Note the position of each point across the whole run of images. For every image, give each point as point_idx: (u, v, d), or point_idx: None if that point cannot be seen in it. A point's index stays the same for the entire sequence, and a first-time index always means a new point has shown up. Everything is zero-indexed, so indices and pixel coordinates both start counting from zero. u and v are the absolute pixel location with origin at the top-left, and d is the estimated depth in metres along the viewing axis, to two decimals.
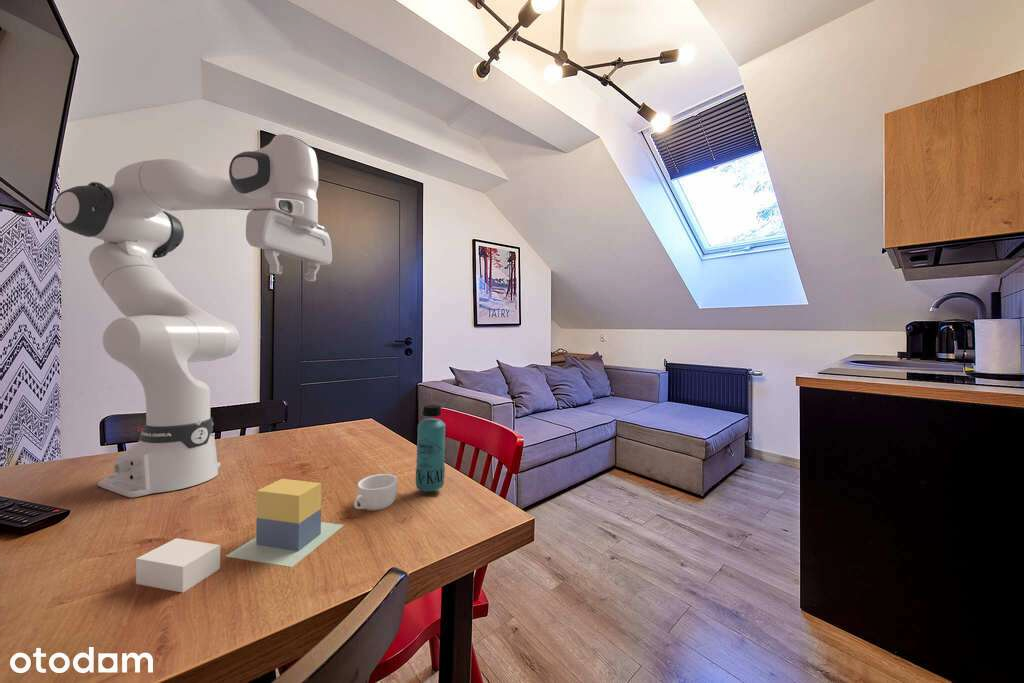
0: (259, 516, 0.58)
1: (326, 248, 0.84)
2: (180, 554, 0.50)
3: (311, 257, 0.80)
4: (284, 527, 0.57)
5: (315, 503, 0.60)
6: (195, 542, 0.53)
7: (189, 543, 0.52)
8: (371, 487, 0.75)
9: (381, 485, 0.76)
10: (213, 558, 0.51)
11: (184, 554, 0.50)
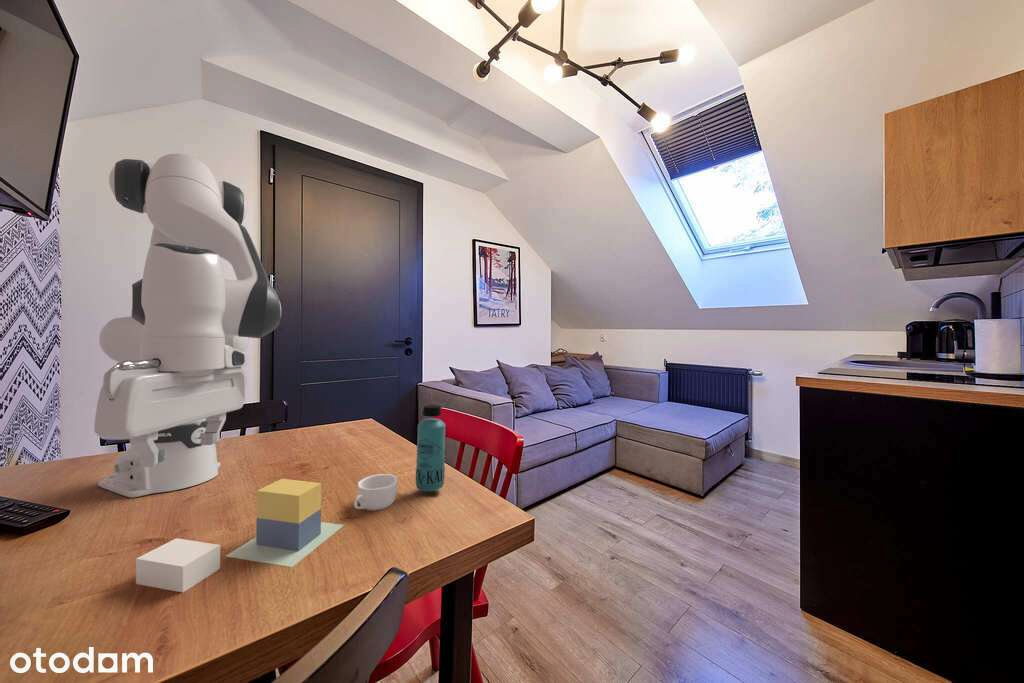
0: (259, 516, 0.58)
1: None
2: (179, 554, 0.50)
3: None
4: (284, 527, 0.57)
5: (315, 503, 0.60)
6: (195, 542, 0.53)
7: (189, 543, 0.52)
8: (371, 487, 0.75)
9: (381, 485, 0.76)
10: (213, 558, 0.51)
11: (184, 554, 0.50)
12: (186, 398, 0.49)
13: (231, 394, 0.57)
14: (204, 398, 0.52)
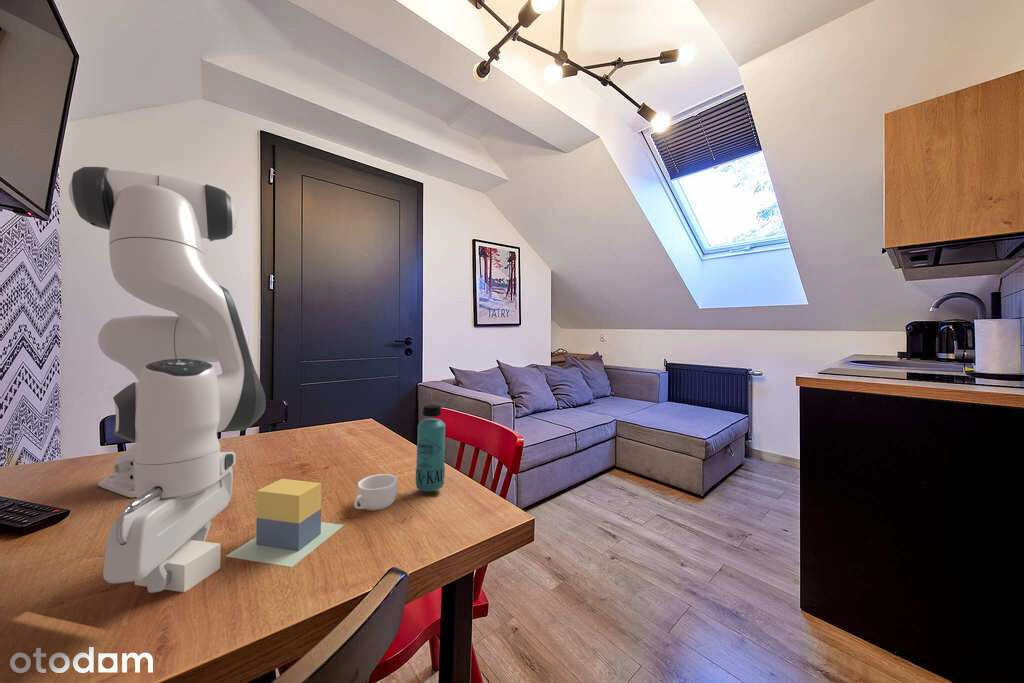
0: (259, 516, 0.58)
1: None
2: (180, 553, 0.50)
3: None
4: (284, 527, 0.57)
5: (315, 503, 0.60)
6: (194, 541, 0.53)
7: (188, 542, 0.52)
8: (371, 487, 0.75)
9: (381, 485, 0.76)
10: (213, 557, 0.51)
11: (184, 553, 0.50)
12: (186, 518, 0.49)
13: (220, 496, 0.57)
14: (199, 510, 0.52)
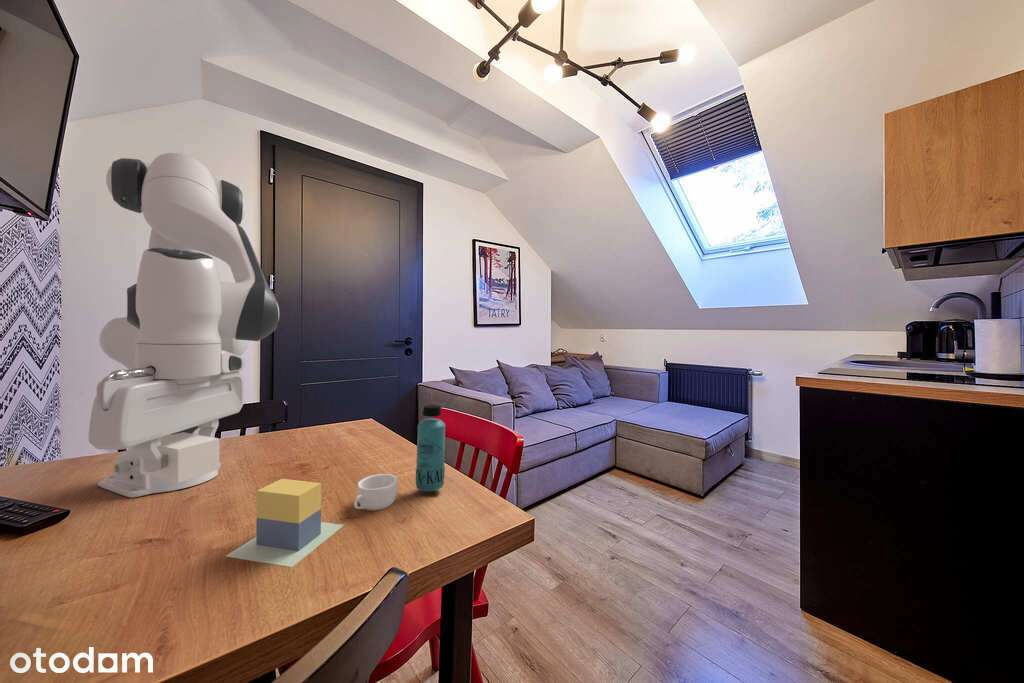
0: (259, 516, 0.58)
1: None
2: (180, 441, 0.49)
3: None
4: (284, 527, 0.57)
5: (315, 503, 0.60)
6: (198, 435, 0.52)
7: (192, 435, 0.52)
8: (371, 487, 0.75)
9: (381, 485, 0.76)
10: (212, 450, 0.50)
11: (183, 442, 0.49)
12: (182, 405, 0.48)
13: (228, 399, 0.57)
14: (201, 404, 0.51)
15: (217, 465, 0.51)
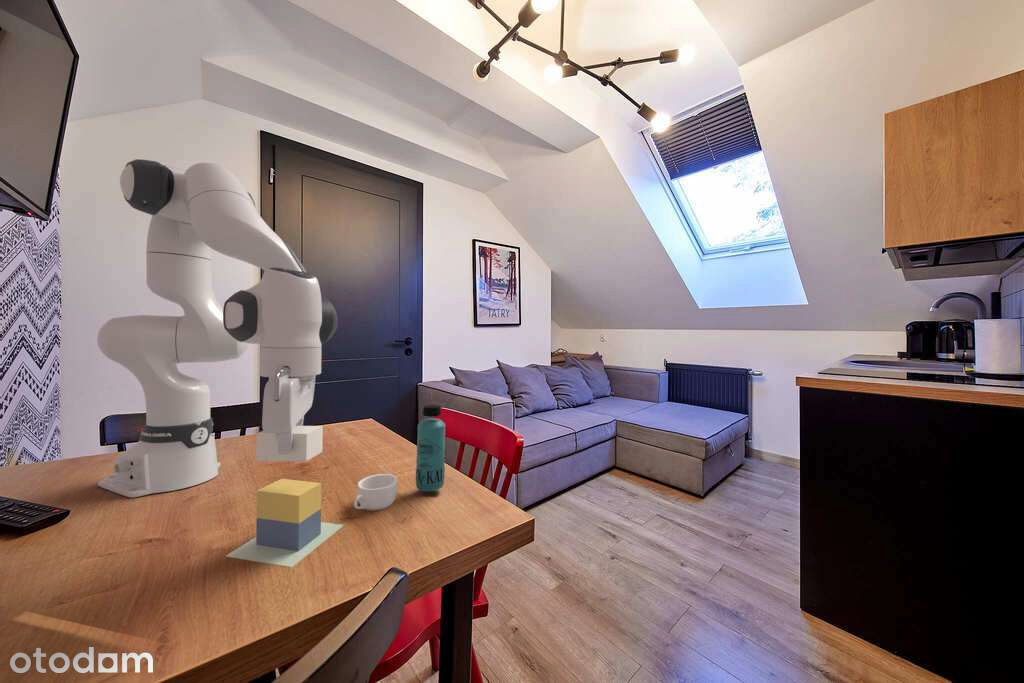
0: (259, 516, 0.58)
1: None
2: (293, 430, 0.59)
3: None
4: (284, 527, 0.57)
5: (315, 503, 0.60)
6: (298, 426, 0.62)
7: None
8: (371, 487, 0.75)
9: (381, 485, 0.76)
10: (319, 435, 0.61)
11: (298, 430, 0.59)
12: (301, 399, 0.58)
13: (309, 395, 0.66)
14: (304, 399, 0.61)
15: (321, 448, 0.62)
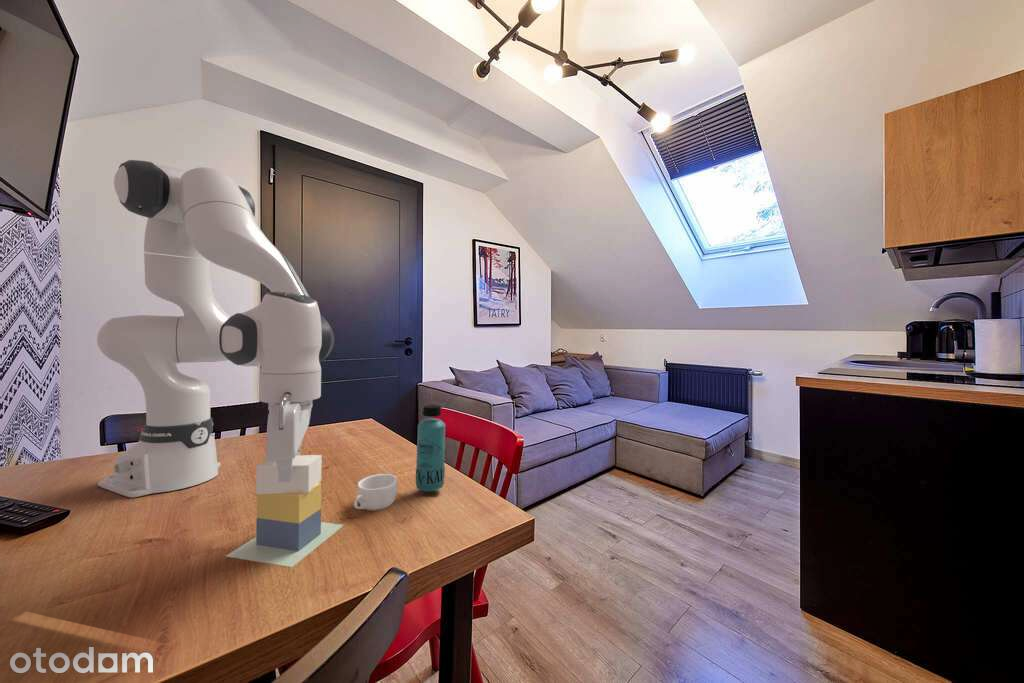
0: (259, 516, 0.58)
1: None
2: (293, 461, 0.59)
3: None
4: (284, 527, 0.57)
5: (315, 503, 0.60)
6: (296, 455, 0.62)
7: None
8: (371, 487, 0.75)
9: (381, 485, 0.76)
10: (319, 464, 0.62)
11: (298, 461, 0.59)
12: (301, 423, 0.59)
13: (307, 416, 0.66)
14: (303, 422, 0.61)
15: (320, 477, 0.62)
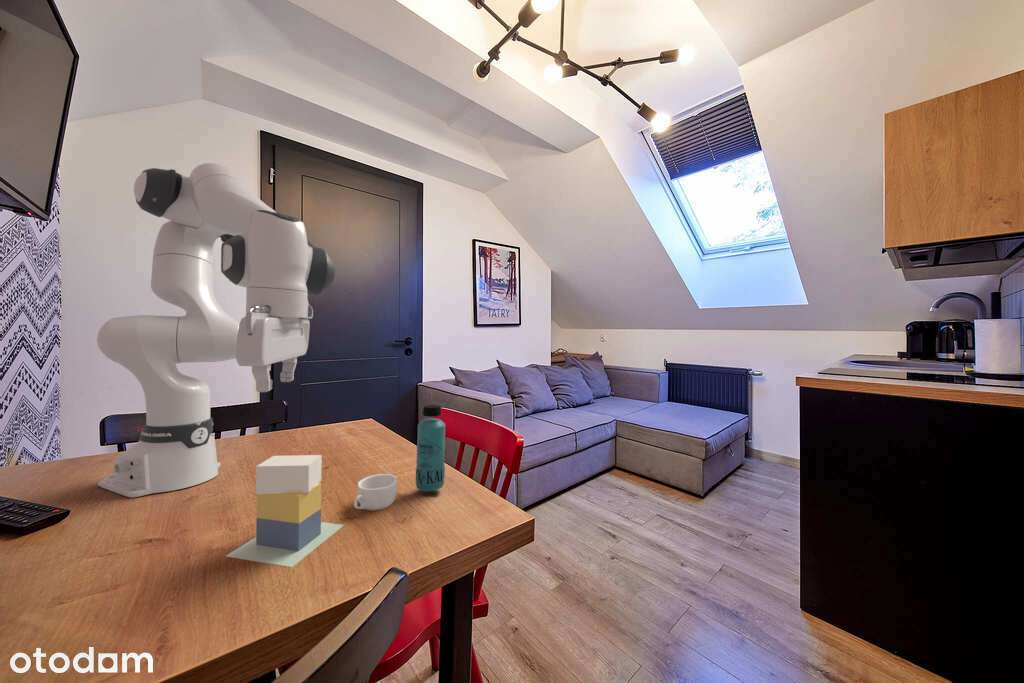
0: (259, 516, 0.58)
1: None
2: (293, 461, 0.59)
3: None
4: (284, 527, 0.57)
5: (315, 503, 0.60)
6: (296, 455, 0.62)
7: (291, 456, 0.61)
8: (371, 487, 0.75)
9: (381, 485, 0.76)
10: (319, 464, 0.62)
11: (298, 461, 0.59)
12: (284, 340, 0.60)
13: (301, 341, 0.68)
14: (291, 342, 0.63)
15: (320, 477, 0.62)
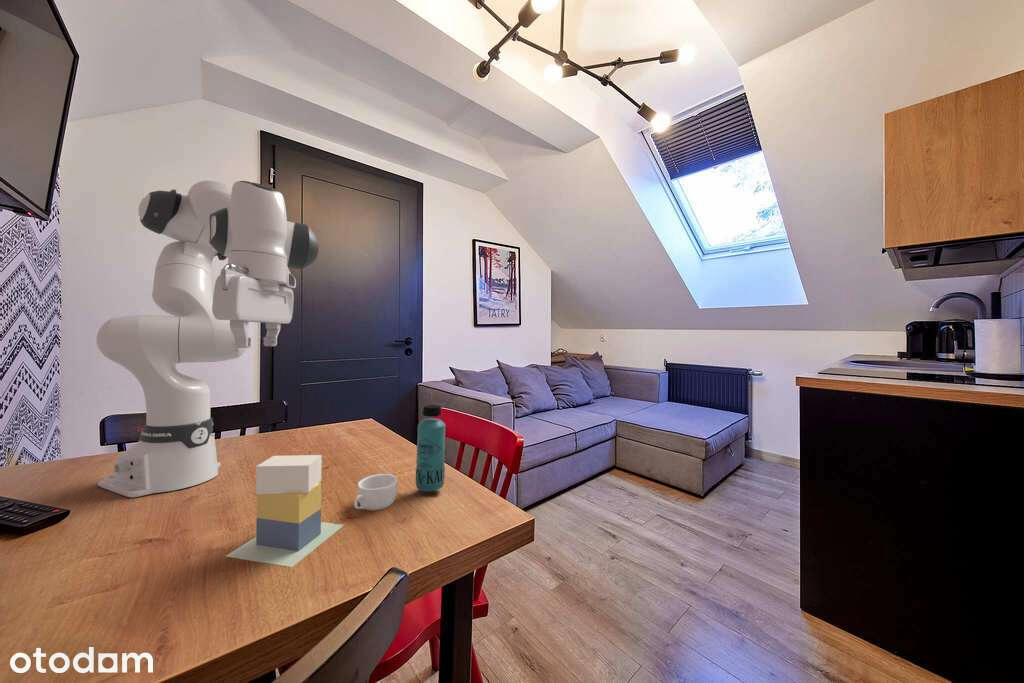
0: (259, 516, 0.58)
1: None
2: (293, 461, 0.59)
3: None
4: (284, 527, 0.57)
5: (315, 503, 0.60)
6: (296, 455, 0.62)
7: (291, 456, 0.61)
8: (371, 487, 0.75)
9: (381, 485, 0.76)
10: (319, 464, 0.62)
11: (298, 461, 0.59)
12: (263, 302, 0.64)
13: (284, 309, 0.72)
14: (272, 306, 0.67)
15: (320, 477, 0.62)
